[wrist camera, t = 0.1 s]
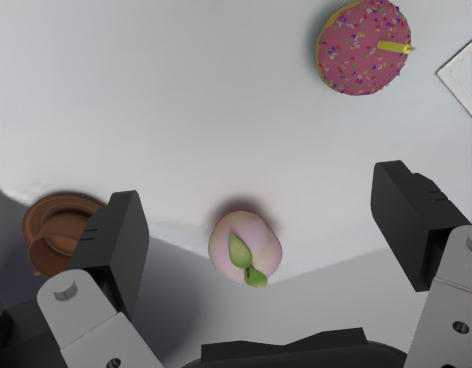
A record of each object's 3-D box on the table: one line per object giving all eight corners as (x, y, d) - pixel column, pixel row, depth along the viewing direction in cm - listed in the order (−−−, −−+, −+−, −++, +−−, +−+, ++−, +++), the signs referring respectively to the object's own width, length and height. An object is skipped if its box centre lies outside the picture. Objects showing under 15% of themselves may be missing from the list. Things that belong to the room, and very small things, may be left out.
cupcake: (340, -26, 36) (390, -13, 25) (408, 20, 38) (478, 49, 28) (290, 57, 39) (316, 97, 29) (354, 94, 42) (399, 143, 32)
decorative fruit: (194, 215, 50) (190, 270, 41) (246, 183, 47) (253, 235, 39) (236, 257, 54) (239, 316, 46) (285, 230, 52) (299, 286, 43)
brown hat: (104, 271, 54) (92, 306, 49) (17, 239, 51) (-6, 274, 45) (138, 212, 49) (129, 244, 44) (44, 172, 45) (22, 202, 40)
